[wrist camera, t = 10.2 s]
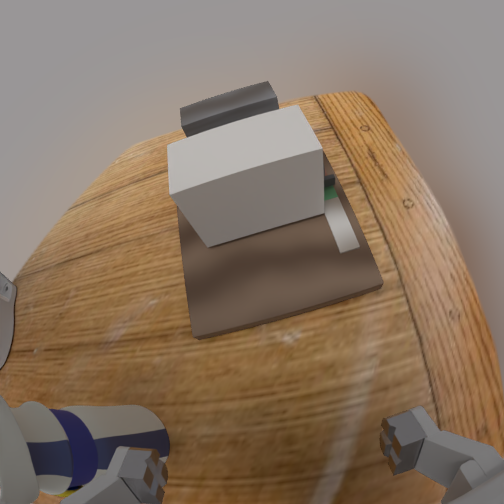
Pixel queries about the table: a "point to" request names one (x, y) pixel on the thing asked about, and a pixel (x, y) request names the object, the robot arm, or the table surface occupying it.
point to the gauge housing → (248, 175)
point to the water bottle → (68, 445)
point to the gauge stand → (270, 246)
